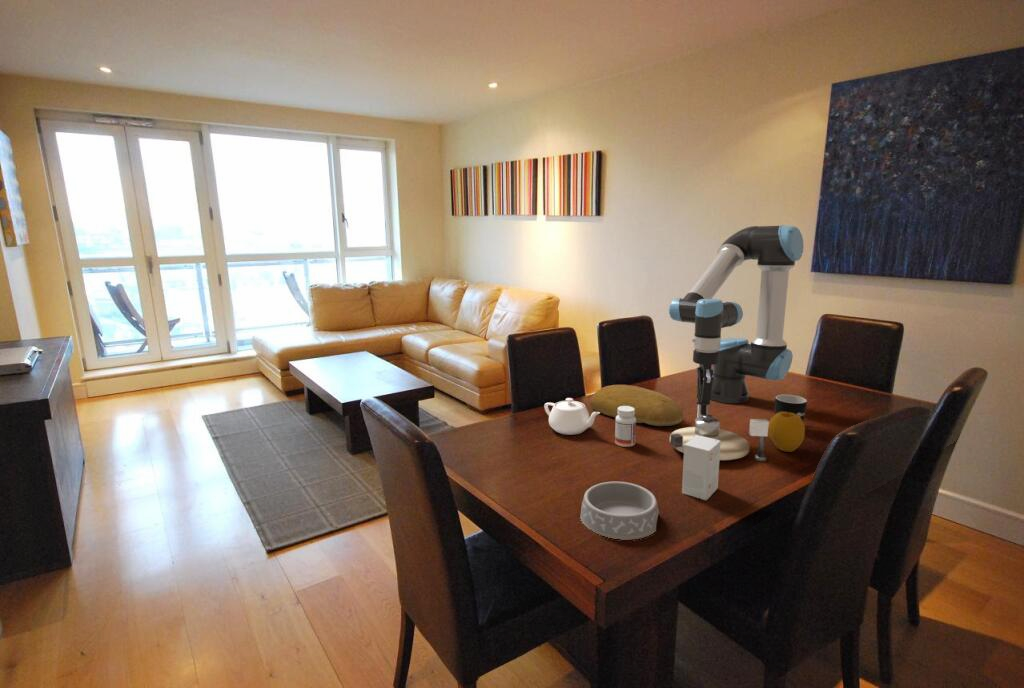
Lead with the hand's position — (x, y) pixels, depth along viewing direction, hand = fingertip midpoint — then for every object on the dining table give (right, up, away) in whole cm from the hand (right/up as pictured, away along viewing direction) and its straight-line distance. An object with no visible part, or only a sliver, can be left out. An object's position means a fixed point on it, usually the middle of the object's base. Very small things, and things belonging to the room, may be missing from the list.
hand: (701, 423), depth 163 cm
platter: (-2, -5, -10) cm, 11 cm away
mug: (+32, -3, +7) cm, 33 cm away
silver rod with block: (+11, -8, -16) cm, 21 cm away
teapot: (-40, -4, +8) cm, 41 cm away
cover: (0, -2, -4) cm, 5 cm away
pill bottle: (-25, -6, -3) cm, 26 cm away
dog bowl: (-35, -15, -44) cm, 59 cm away
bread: (-16, -1, +22) cm, 27 cm away
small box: (-13, -12, -33) cm, 37 cm away
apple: (+21, -7, -10) cm, 24 cm away
